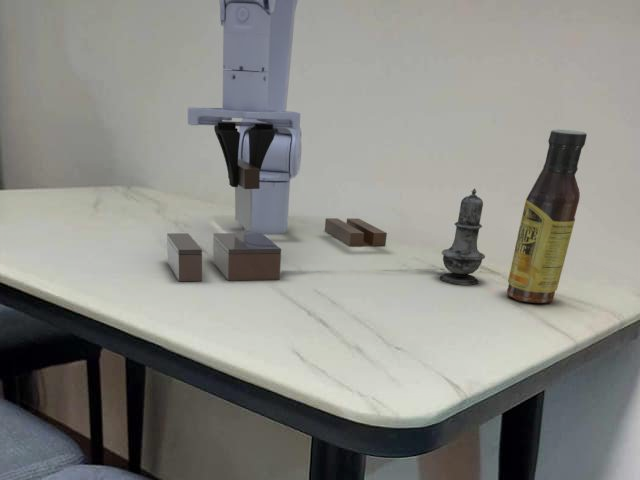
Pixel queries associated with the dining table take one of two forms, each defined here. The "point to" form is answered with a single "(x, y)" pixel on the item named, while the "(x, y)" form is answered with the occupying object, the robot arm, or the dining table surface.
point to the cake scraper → (245, 192)
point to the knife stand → (355, 232)
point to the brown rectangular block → (184, 257)
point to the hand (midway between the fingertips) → (242, 186)
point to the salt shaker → (465, 244)
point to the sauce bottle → (547, 222)
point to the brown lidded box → (246, 256)
